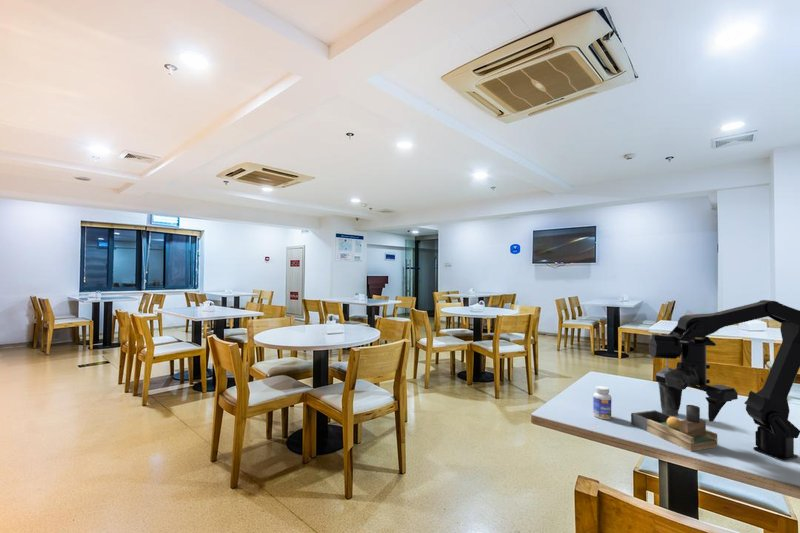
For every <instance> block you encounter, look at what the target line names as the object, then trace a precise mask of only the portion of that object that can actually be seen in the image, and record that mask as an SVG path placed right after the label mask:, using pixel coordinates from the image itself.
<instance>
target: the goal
mask: <svg viewBox="0 0 800 533" xmlns="http://www.w3.org/2000/svg"><path fill="white" fill-rule="evenodd" d="M669 417H670V416H669V415H666V414H663V413H662V411H658V410H647V411H638V412H631V414H630V424H631V425H632V426H634V427H636V428H639V429H640V430H643V431H645V432H647V419H650V420H653V421H655V422H657V423H664V422H667V419H668V418H669Z"/></svg>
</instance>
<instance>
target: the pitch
mask: <svg viewBox="0 0 800 533" xmlns="http://www.w3.org/2000/svg"><path fill="white" fill-rule="evenodd" d="M670 417H673V416H670ZM678 419H679V420H680V421H682V420H683V419H680V418H678ZM646 432H647V433H649V434H652V435H654V436H657V437H659V438H660V439H663V440H665V441H667V442H670V443H672V444H674V445H676V446H678V447H681V448H682V449H685V450H687V451H690V452H696V451H700V450H706V449H707V448H708V449H712V448H717V447H718V433H716V432H714V431H711V430H708V429H706V435H703V436H697V437H691V436H689V435H686V434H684V433H681V432H680V428H679V429H677V430H674V429H672V428H670V427H669V426H668V425H667V422H664V423H657V422H655V421H653V420H650V419H647V431H646ZM708 449H707V450H708Z"/></svg>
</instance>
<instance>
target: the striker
mask: <svg viewBox="0 0 800 533" xmlns="http://www.w3.org/2000/svg"><path fill="white" fill-rule="evenodd" d="M685 409H686V412H685V413H686V419H681V420H682V421H680V432H681V433H684V434H686V435H689V436H691V437H697V436H703V435H706V430H707V429H706V427H707V421H706V420H705V419H702V418H701V412H700V411H701V410H700V409H701V408H700V407H699V406H697V405H694V404H686V407H685Z"/></svg>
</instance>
